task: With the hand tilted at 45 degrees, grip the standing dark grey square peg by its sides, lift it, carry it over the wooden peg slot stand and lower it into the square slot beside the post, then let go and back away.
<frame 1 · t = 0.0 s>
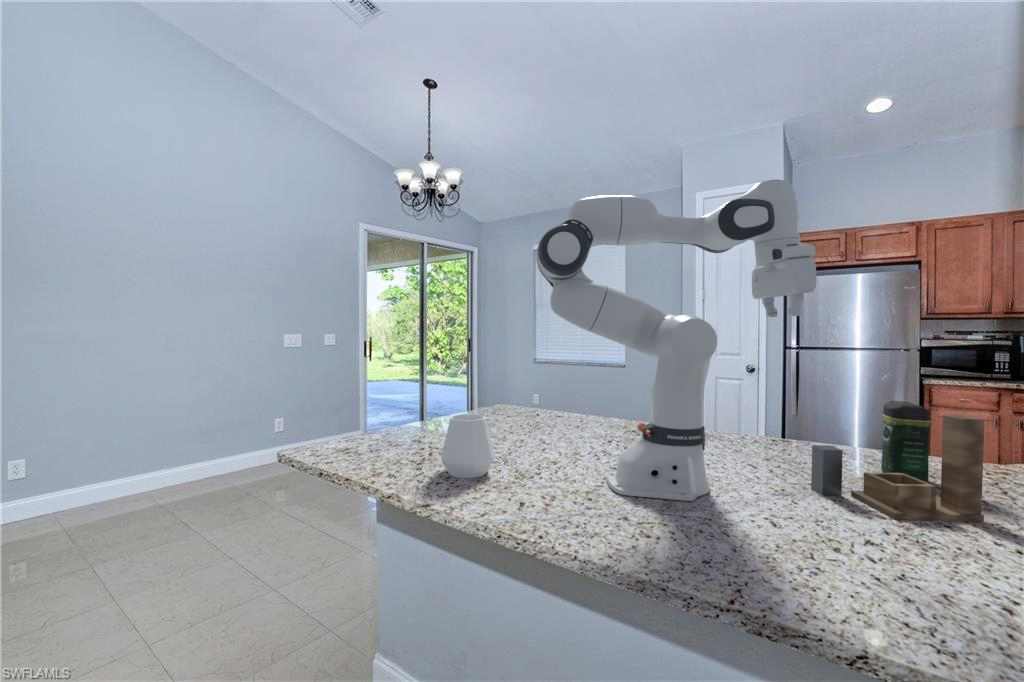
hand: (783, 316, 102), 39 cm above the countertop, tool pointing down, fingers open, 8 cm apart
dark grey square peg: (826, 492, 100), on the countertop
cup: (467, 473, 114), on the countertop
wooden peg slot stand: (912, 508, 92), on the countertop
coffee jar: (904, 479, 110), on the countertop
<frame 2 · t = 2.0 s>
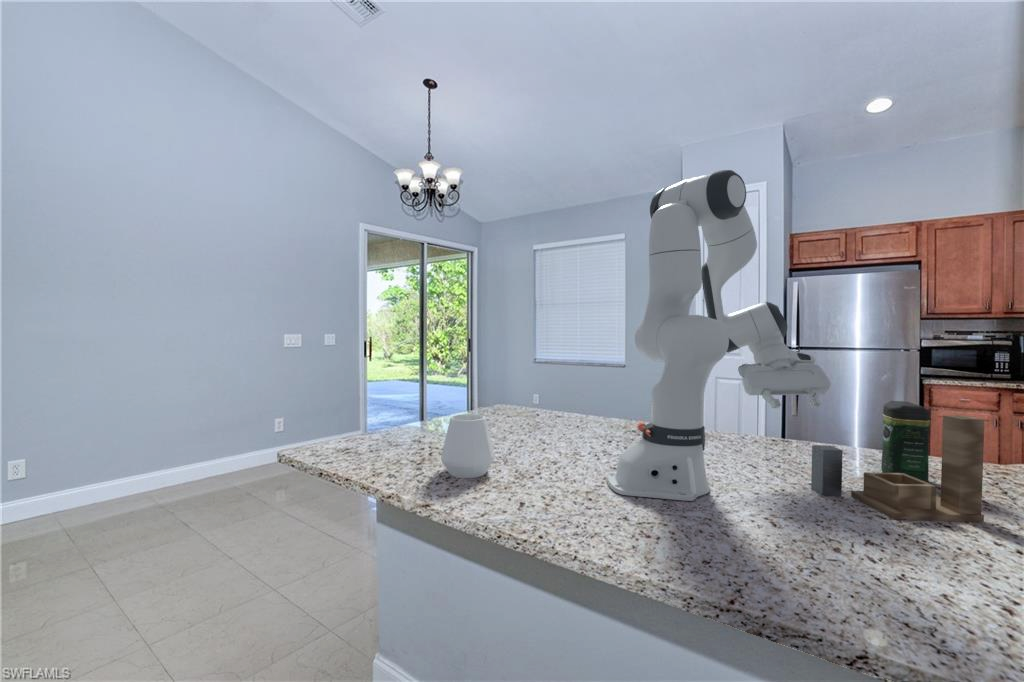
hand: (796, 406, 112), 17 cm above the countertop, tool tilted 45°, fingers open, 8 cm apart
nothing on the countertop moved.
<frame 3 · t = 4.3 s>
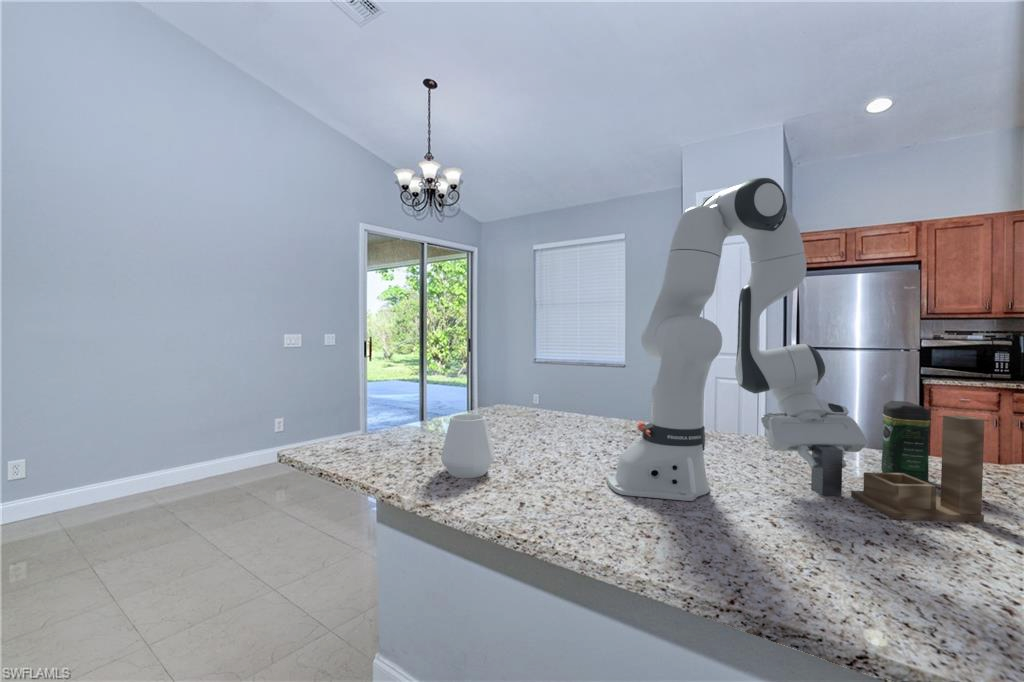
hand: (828, 466, 99), 6 cm above the countertop, tool tilted 45°, fingers closed on dark grey square peg, 4 cm apart
dark grey square peg: (826, 492, 100), on the countertop, touching gripper
everything else where it was.
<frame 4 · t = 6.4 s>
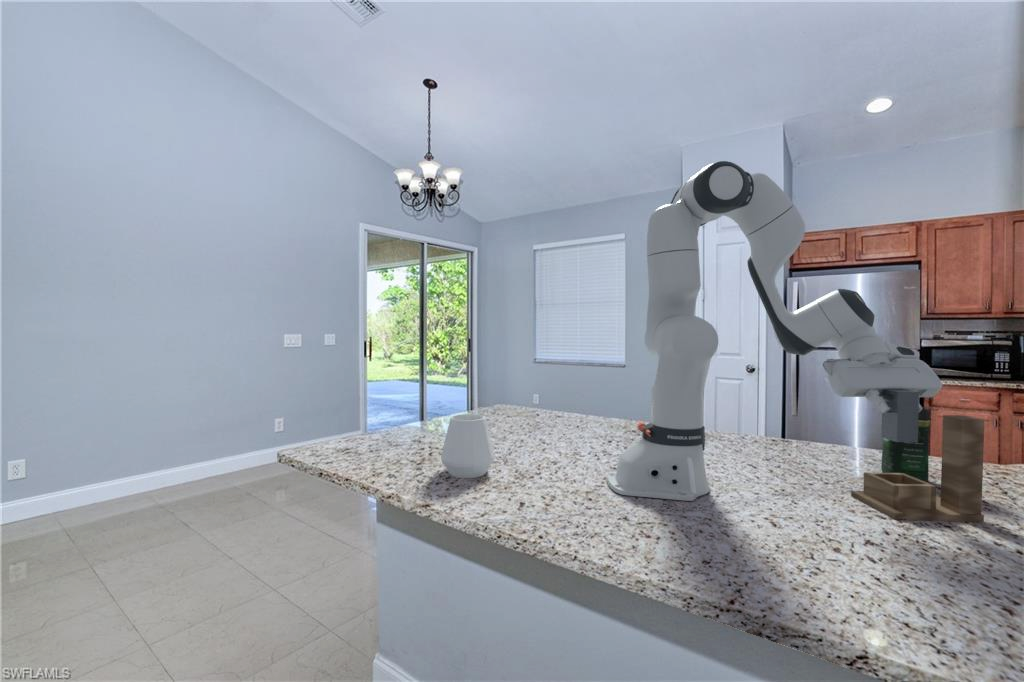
hand: (902, 411, 91), 20 cm above the countertop, tool tilted 45°, fingers closed on dark grey square peg, 4 cm apart
dark grey square peg: (899, 439, 92), point 14 cm above the countertop, touching gripper
everything else where it was.
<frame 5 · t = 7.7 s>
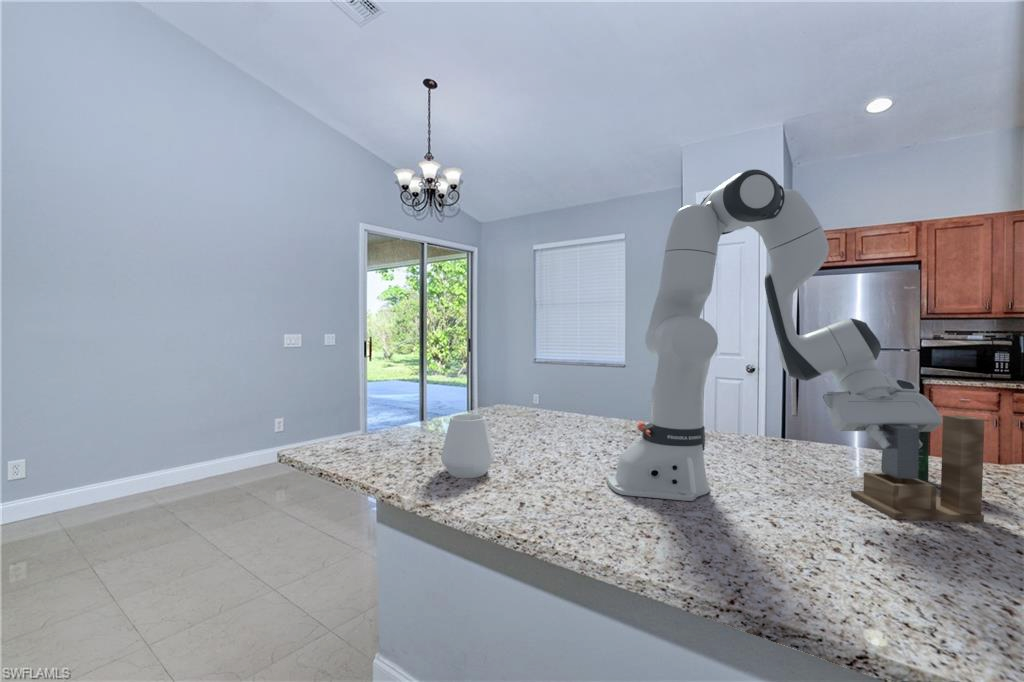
hand: (902, 447, 91), 12 cm above the countertop, tool tilted 45°, fingers closed on dark grey square peg, 4 cm apart
dark grey square peg: (899, 475, 92), point 6 cm above the countertop, touching gripper
everything else where it was.
when the fingers open (9 cm above the countertop, at t = 8.7 s): dark grey square peg drops 2 cm, resting on wooden peg slot stand.
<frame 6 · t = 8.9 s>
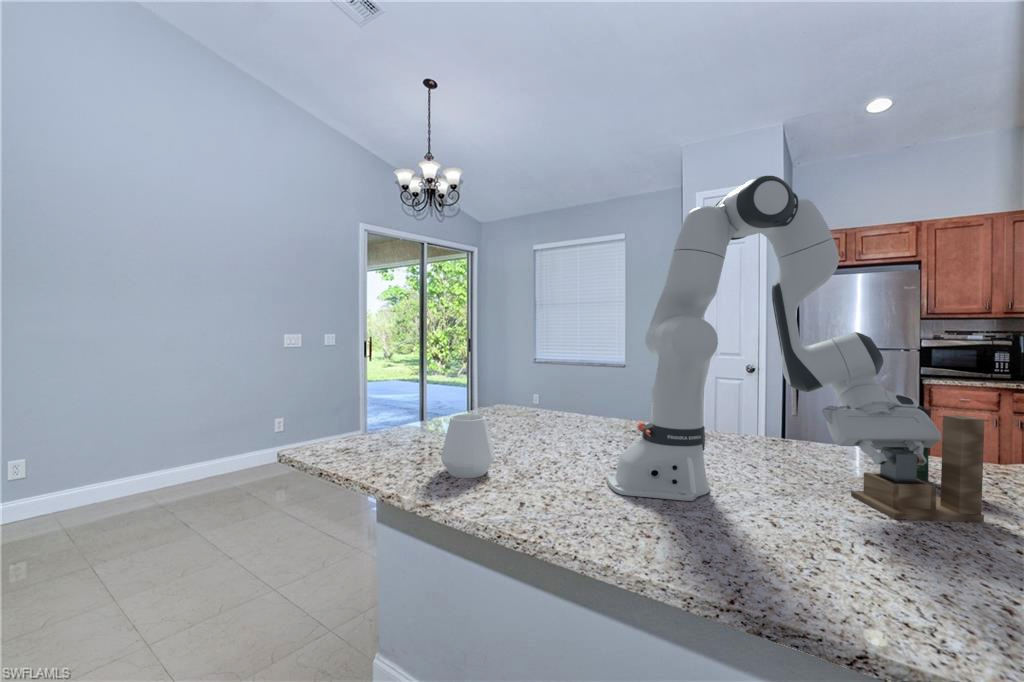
hand: (901, 463, 91), 9 cm above the countertop, tool tilted 45°, fingers open, 6 cm apart
dark grey square peg: (897, 500, 92), point 1 cm above the countertop, touching wooden peg slot stand
everything else where it was.
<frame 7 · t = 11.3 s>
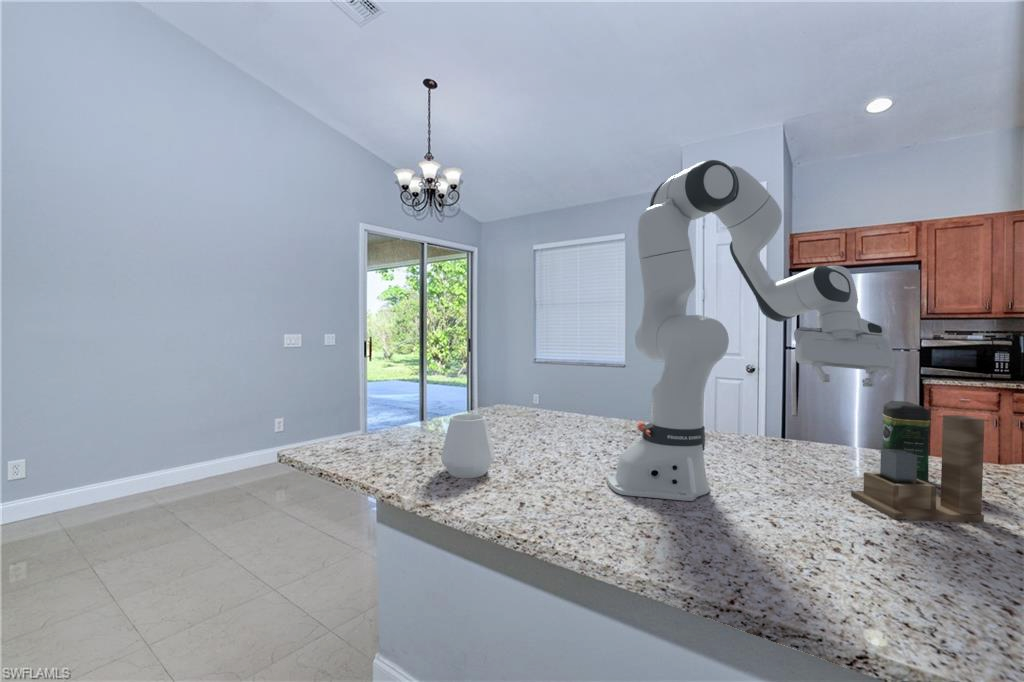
hand: (846, 384, 105), 23 cm above the countertop, tool tilted 25°, fingers open, 8 cm apart
nothing on the countertop moved.
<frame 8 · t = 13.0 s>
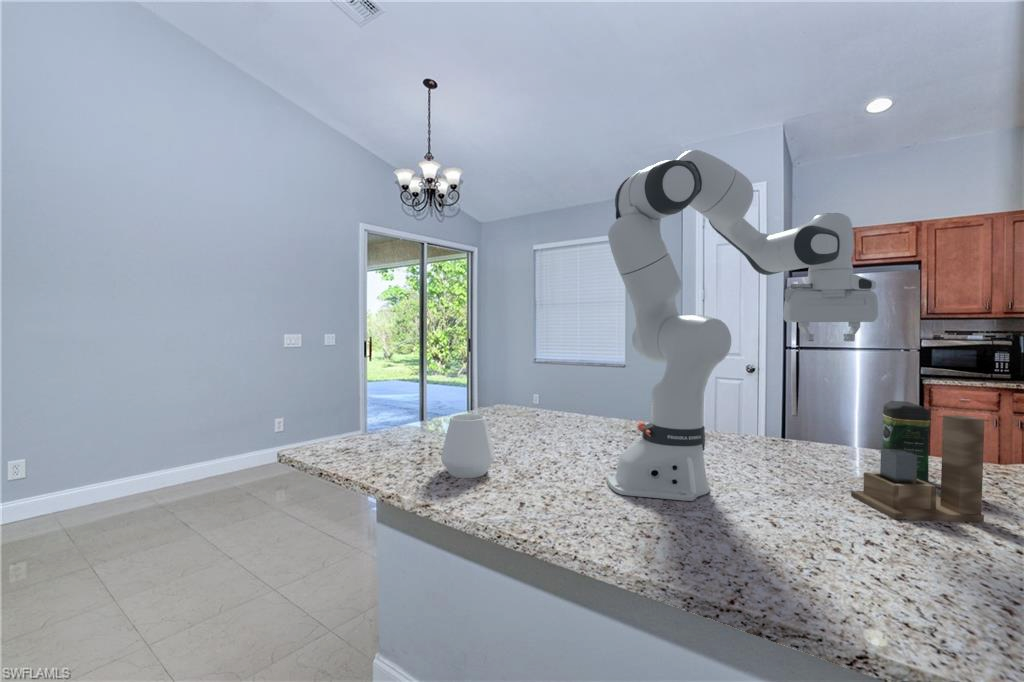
hand: (828, 341, 109), 33 cm above the countertop, tool pointing down, fingers open, 8 cm apart
nothing on the countertop moved.
at the end: dark grey square peg 0.1 cm from the target spot on the wooden peg slot stand, point 1.2 cm above the wooden peg slot stand's base; dark grey square peg tilted 0°; the gripper is holding nothing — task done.
